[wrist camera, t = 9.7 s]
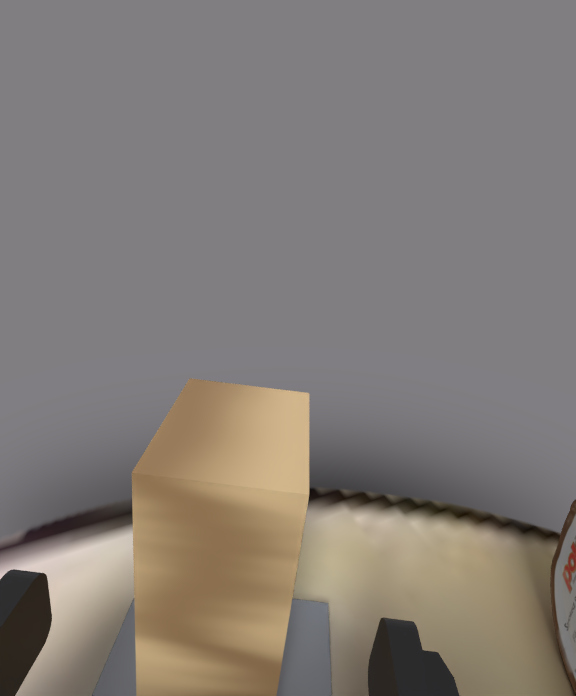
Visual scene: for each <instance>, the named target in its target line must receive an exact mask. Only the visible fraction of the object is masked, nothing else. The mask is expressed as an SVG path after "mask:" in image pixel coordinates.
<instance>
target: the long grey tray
mask: <svg viewBox="0 0 576 696" xmlns="http://www.w3.org/2000/svg"><path fill="white" fill-rule="evenodd" d="M92 696H136V649H135V600H134V599H133V601H132V604H131V606H130V608H129V611H128V613H127V615H126V618H125V620H124V622H123V624H122V627H121V629H120V631H119V634H118V636H117V638H116V641H115V643H114V645H113V648H112V650H111V652H110V655H109V657H108V659H107V662H106V664H105V666H104V669H103V671H102V673H101V676H100V678H99V680H98V683H97V685H96V687H95V690H94V692H93V694H92ZM276 696H332V691H331V665H330V639H329V614H328V603H322V602H314V601H307V600H299V599H292V603H291V610H290V616H289V622H288V628H287V634H286V640H285V646H284V652H283V659H282V665H281V671H280V677H279V683H278V689H277V695H276Z"/></svg>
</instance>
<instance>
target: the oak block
mask: <svg viewBox="0 0 576 696" xmlns="http://www.w3.org/2000/svg"><path fill="white" fill-rule="evenodd" d="M308 499H309V393H303V392H296V391H287V390H279V389H270V388H263V387H254V386H247V385H239V384H230V383H222V382H215V381H206V380H198V379H189V380H188V382H187V384H186V385H185V387H184V389H183V390H182V392H181V393H180V395H179V397H178V398H177V400H176V402H175V404H174V405H173V407H172V408H171V410H170V411H169V413H168V415H167V417H166V418H165V420H164V421H163V423H162V425H161V426H160V428H159V429H158V431H157V433H156V434H155V436H154V437H153V439H152V441H151V442H150V444H149V446H148V447H147V449H146V451H145V452H144V454H143V455H142V457H141V459H140V461H139V462H138V464H137V465H136V467H135V468H134V470H133V472H132V503H133V552H134V600H135V649H136V696H276V695H277V689H278V683H279V677H280V671H281V665H282V659H283V652H284V646H285V640H286V634H287V628H288V622H289V616H290V610H291V603H292V597H293V591H294V585H295V579H296V573H297V567H298V560H299V554H300V548H301V542H302V536H303V530H304V524H305V517H306V511H307V505H308Z"/></svg>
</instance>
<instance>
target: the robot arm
mask: <svg viewBox="0 0 576 696" xmlns="http://www.w3.org/2000/svg"><path fill="white" fill-rule="evenodd" d="M51 621H52V614H51V606H50V597H49V589H48V581H47V576H46V574H44V573H37V572H29V571H21V570H10V571H9V572H7V573H6V574H5V575H4V576H3V577H2V578H1V580H0V696H15V695H16V693H17V691H18V690H19V688H20V686H21V684H22V683H23V681H24V679H25V677H26V676H27V674H28V672H29V670H30V669H31V667H32V665H33V663H34V662H35V660H36V658H37V657H38V655H39V653H40V651H41V650H42V648H43V646H44V644H45V642H46V639H47V637H48V634H49V631H50V627H51ZM368 688H369V696H459V693H458V690H457V687H456V683H455V680H454V677H453V676H452V674H451V672H450V671H449V669H448V668H447V666H446V664H445V663H444V661H443V660H442V658H441V657H440V655H439V653H438V652H431V651H424V650H422V646H421V642H420V638H419V634H418V630H417V627H416V625H415V623H414V622H412V621H405V620H397V619H389V618H381V620H380V622H379V626H378V630H377V633H376V637H375V641H374V644H373V648H372V652H371V655H370V659H369V667H368Z"/></svg>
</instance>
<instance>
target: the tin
mask: <svg viewBox="0 0 576 696" xmlns="http://www.w3.org/2000/svg"><path fill="white" fill-rule="evenodd" d="M551 601H552V611H553V619H554V625H555V631H556V635H557V640H558V645H559V648H560V652H561V655H562V659H563V662H564V665H565V668H566V671H567V674H568V676H569V679H570V681H571V684H572V686H573V689H574V692H575V695H576V500H575V501H574V502H573V503H572V505H571V508H570V512H569V514H568V516H567V518H566V520H565V523H564V526H563V528H562V532H561V535H560V539H559V543H558V546H557V549H556V552H555V555H554V558H553V561H552V565H551Z"/></svg>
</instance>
